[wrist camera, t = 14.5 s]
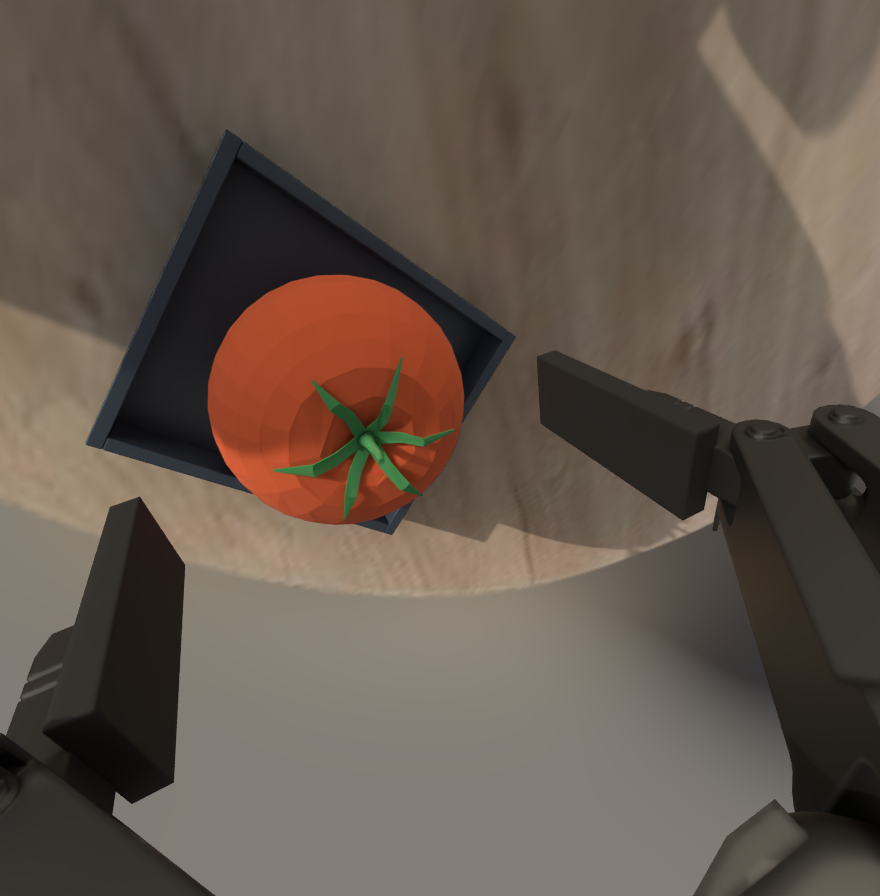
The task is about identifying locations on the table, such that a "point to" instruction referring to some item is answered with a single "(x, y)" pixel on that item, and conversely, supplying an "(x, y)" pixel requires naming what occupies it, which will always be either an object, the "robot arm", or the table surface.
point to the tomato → (335, 399)
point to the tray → (239, 286)
